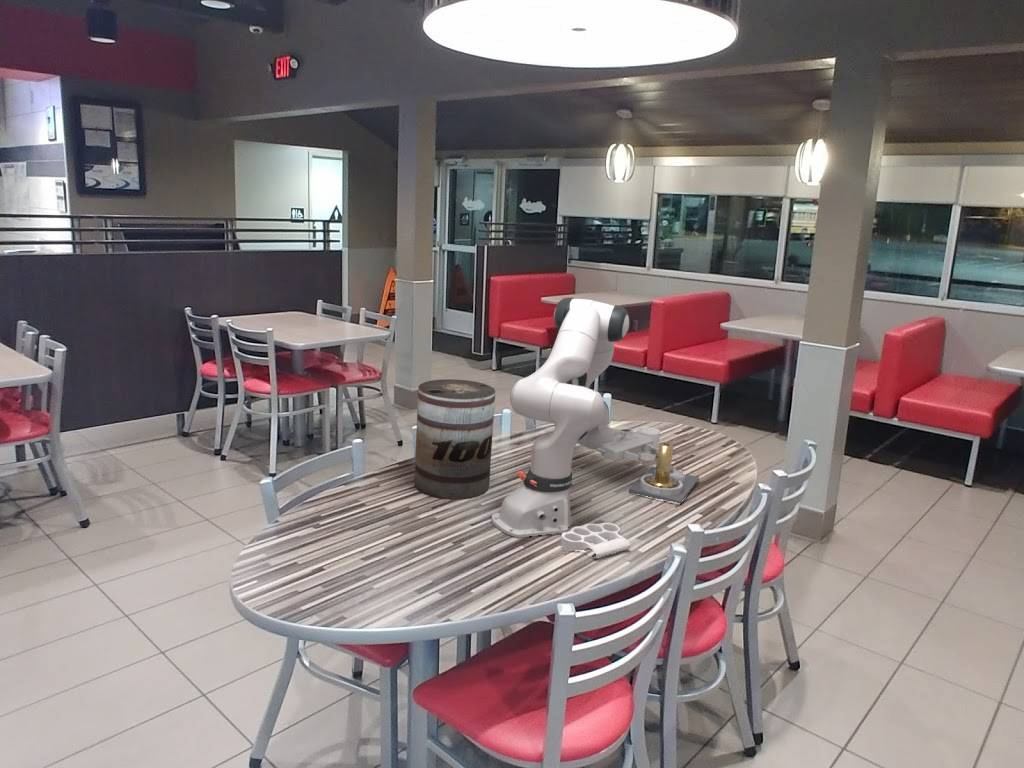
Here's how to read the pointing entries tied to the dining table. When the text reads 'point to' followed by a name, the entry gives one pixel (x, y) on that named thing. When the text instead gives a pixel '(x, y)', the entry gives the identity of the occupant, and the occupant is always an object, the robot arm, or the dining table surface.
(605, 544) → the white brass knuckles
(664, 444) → the gold metal upright post
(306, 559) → the dining table surface
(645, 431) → the white cup
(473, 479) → the barrel
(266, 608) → the dining table surface
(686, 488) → the board
